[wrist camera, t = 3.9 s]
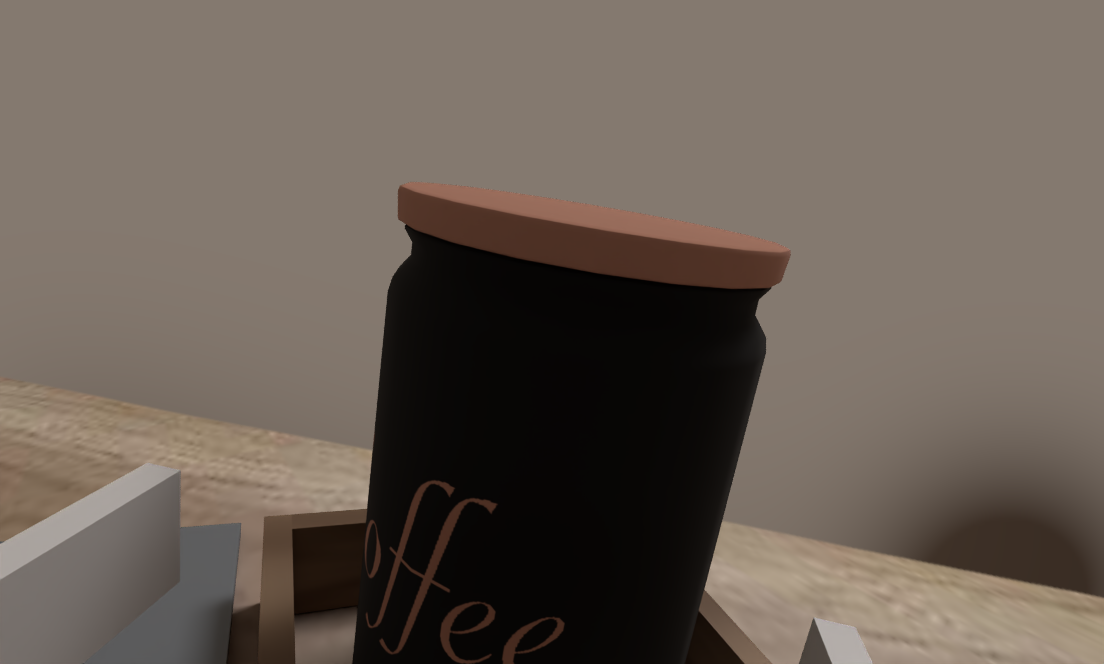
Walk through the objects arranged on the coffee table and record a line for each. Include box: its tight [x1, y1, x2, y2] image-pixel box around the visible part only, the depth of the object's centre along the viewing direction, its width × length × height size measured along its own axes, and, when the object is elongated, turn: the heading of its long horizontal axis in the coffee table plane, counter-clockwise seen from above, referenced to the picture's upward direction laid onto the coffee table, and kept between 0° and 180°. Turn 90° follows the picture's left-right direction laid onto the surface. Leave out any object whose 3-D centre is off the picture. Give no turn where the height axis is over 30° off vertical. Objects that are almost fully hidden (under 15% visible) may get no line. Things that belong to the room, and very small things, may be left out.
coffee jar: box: [353, 182, 791, 664], centre depth 19 cm, size 11×11×18 cm
